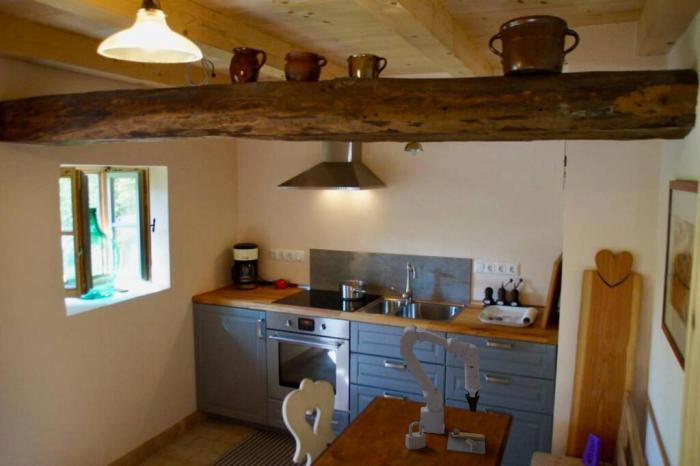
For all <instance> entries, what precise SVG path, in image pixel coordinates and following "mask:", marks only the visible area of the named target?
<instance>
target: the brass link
mask: <svg viewBox="0 0 700 466" xmlns="http://www.w3.org/2000/svg"><path fill="white" fill-rule="evenodd" d="M451 432H452V437H454V438H465V439H475V440H482V435H483V434H481V433H474V432H462V431H459V434H454V431H451Z"/></svg>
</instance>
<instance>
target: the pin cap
mask: <svg viewBox="0 0 700 466" xmlns="http://www.w3.org/2000/svg"><path fill="white" fill-rule="evenodd" d="M453 432H454V434H459V432H460V429H459V428H454V429H453Z"/></svg>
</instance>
